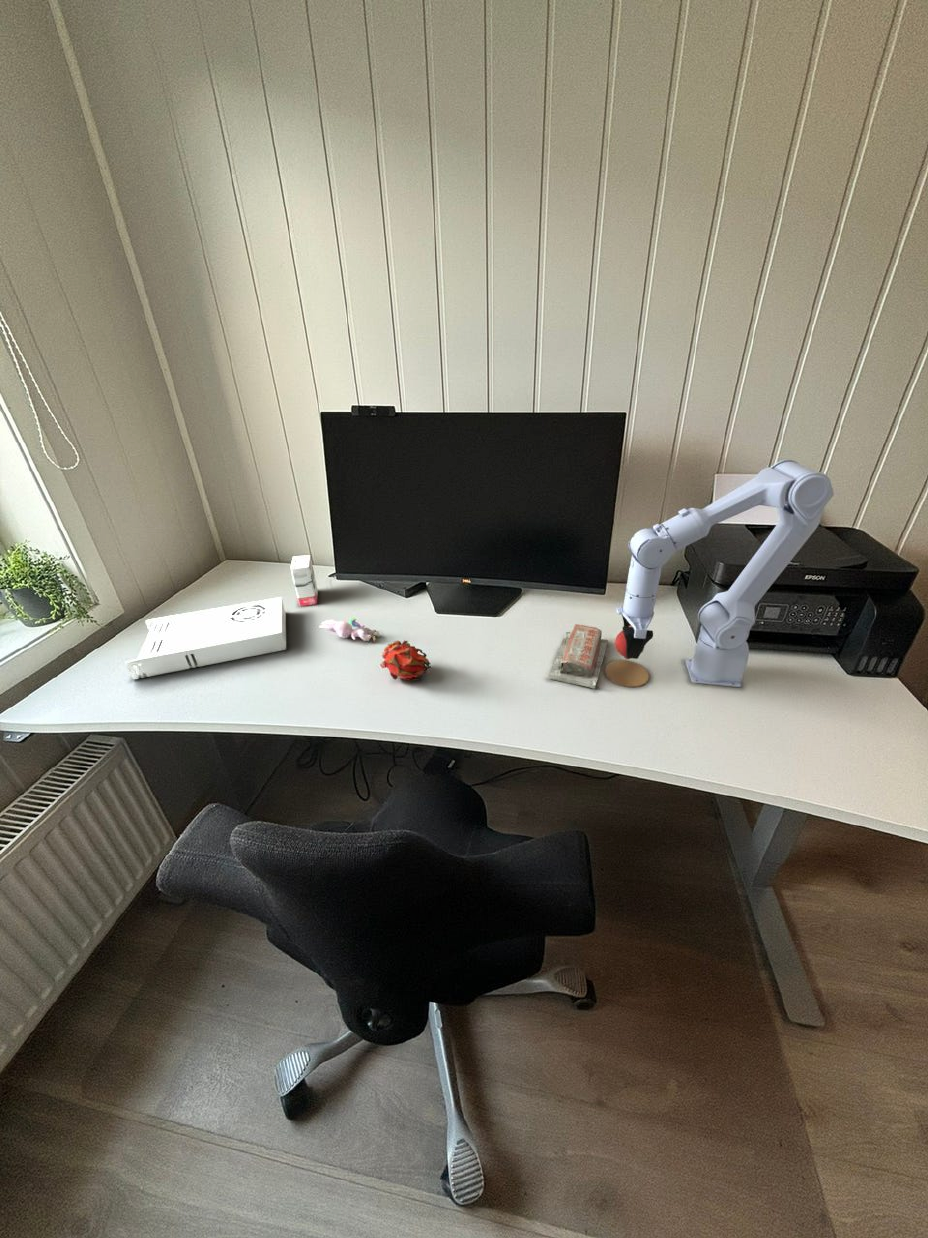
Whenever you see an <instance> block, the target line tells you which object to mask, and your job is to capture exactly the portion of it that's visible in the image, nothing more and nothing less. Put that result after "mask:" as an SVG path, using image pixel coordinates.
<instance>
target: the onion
mask: <svg viewBox="0 0 928 1238" xmlns="http://www.w3.org/2000/svg"><path fill="white" fill-rule="evenodd" d="M629 627H632V626H631V625H630V626H629ZM614 646H615V649H616V651H617V652H618V653H619V655H621V656H622V657H623V658H624V659H625V660H630V659H631V658H627V653H626V639H625V637H624V634H623V629H622V630H621V631H620V632H619V633H618V634H617V636H616V637H615V640H614ZM644 649H645V647H644V648H643V650H642V652H641V654H642V653H643V652H644Z"/></svg>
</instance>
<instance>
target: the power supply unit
mask: <svg viewBox="0 0 928 1238" xmlns="http://www.w3.org/2000/svg"><path fill="white" fill-rule="evenodd" d="M286 614H287V613H286V609H285V605H284V601H283V598H282V597H281V596H279V597H273V598H267V599H262V600H255V601H250V602H244V603H238V604H232V605H226V606H221V607H215V608H209V609H204V610H197V611H192V612H184V613H180V614H174V615H168V616H161V617H157V618H156V617H155V618H151V619H146V620H145V622H144V624H145V625H146V628H147V630H148V634H147V636H146V639H145V641H144V643H143V645H142V647H141V650H140V652H139V654H138V657H137V658H135V659H130V660H127V661H126V662H125V666H126V668H127V670H128V672H129V673H130V675H131V677H132V679H133V680H139V679H140V678H141V679H144V678H146V677H154V676H158V675H159V676H160V675H165V674H169V673H175V672H179V671H185V670H190V669H191V668H193V669H194V668H197V667H199V668H201V667H204V666H209V665H214V664H219V663H225V662H229V661H230V662H231V661H234V660H235V661H236V660H240V659H245V658H251V657H255V656H261V655H265V654H270V653H275V652H280V651H281V652H282V651H285V650H286V649H287V615H286Z"/></svg>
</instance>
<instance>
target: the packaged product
mask: <svg viewBox="0 0 928 1238" xmlns="http://www.w3.org/2000/svg"><path fill="white" fill-rule="evenodd" d="M602 632H603V631H602V630H601V629H599V628H598V627H596V626H592V625H591V626H589V625H584V624H579V623H578V624H577V623H575V624H574V626H573V628H572V630H571V631H565V634H564V636H563V638H562V641H561V643H560V647H559V648H558V651H557V653H556V656H555V659H554V661H553V663H552V666H551V668H550V671H549V673H548V679H549V680H553V681H559V682H563V683H569V684H573V685H579V686H581V687H582V686H583V687H587V688H590V689H593V690H594V689H595V688H596V687H597V682H598V681H599V676H600V671H601V668H602V664H603V662H604V657H605V656H604V655H605V653H606V650H607V645H608V642H609V640H608V639H604V638H602Z"/></svg>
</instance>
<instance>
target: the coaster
mask: <svg viewBox="0 0 928 1238" xmlns="http://www.w3.org/2000/svg"><path fill="white" fill-rule="evenodd" d="M604 674H605V676H606V678H607V680H609V681H610V682H611V683H613V684H615V685H618V686H620V687H625V688H639V687H641V686H644V685H646V683H647V682H648V681H649V678H650V675H649V672H648V671H647V669H646V668H645V667H644V666H643V665H641V664H640V663H637V662H634V661H631V660H626V659H625V660H623V659H622V660H614V661H611V662H609V663H608V664H606V666H605V668H604Z"/></svg>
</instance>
